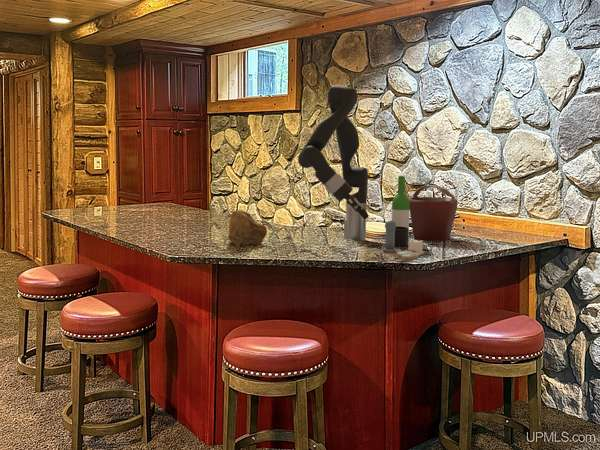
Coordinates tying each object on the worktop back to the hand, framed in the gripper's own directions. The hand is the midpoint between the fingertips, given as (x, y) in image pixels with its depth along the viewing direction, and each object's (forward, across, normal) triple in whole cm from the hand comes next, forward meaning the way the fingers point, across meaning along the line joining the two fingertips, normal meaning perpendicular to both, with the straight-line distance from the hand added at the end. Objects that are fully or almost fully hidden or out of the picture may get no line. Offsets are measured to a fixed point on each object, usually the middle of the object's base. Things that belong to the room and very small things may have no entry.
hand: (366, 216), depth 259 cm
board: (+16, +2, +6) cm, 17 cm away
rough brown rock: (-24, +23, +47) cm, 57 cm away
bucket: (+34, +48, -12) cm, 60 cm away
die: (+26, +7, -4) cm, 27 cm away
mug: (+21, +18, +1) cm, 28 cm away
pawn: (+17, 0, +3) cm, 17 cm away
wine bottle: (+23, +30, -1) cm, 38 cm away
